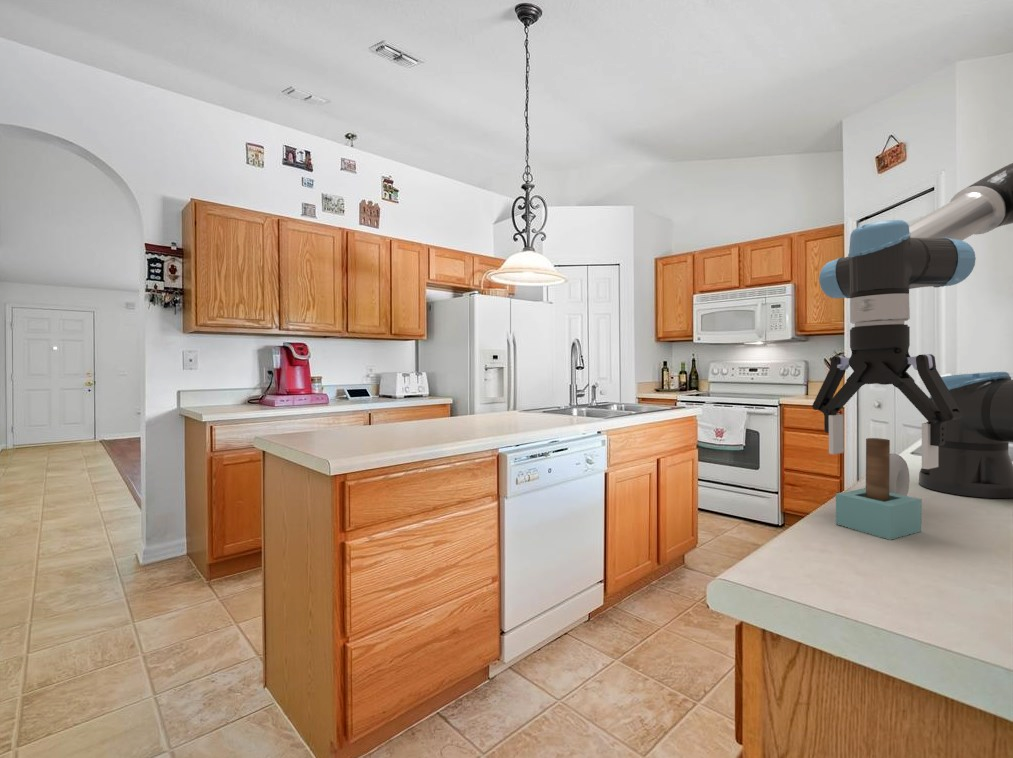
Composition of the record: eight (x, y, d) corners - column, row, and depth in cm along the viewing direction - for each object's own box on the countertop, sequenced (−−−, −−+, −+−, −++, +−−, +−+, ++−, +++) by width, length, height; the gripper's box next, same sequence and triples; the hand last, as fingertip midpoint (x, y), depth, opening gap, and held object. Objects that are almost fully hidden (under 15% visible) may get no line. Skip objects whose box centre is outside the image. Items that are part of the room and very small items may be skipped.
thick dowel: (872, 523, 83) (873, 437, 82) (893, 529, 80) (894, 440, 79) (861, 526, 81) (861, 439, 81) (881, 532, 79) (882, 441, 78)
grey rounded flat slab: (892, 518, 85) (892, 458, 85) (868, 513, 88) (868, 455, 88) (912, 507, 91) (912, 451, 91) (889, 502, 94) (889, 448, 94)
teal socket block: (866, 517, 86) (866, 487, 86) (921, 531, 79) (921, 499, 79) (835, 524, 83) (835, 493, 83) (889, 539, 75) (890, 506, 75)
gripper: (788, 329, 89) (790, 450, 90) (964, 317, 67) (964, 478, 67) (817, 329, 92) (818, 446, 93) (994, 317, 70) (993, 471, 71)
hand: (879, 460), depth 80 cm, fingers open, 13 cm apart
